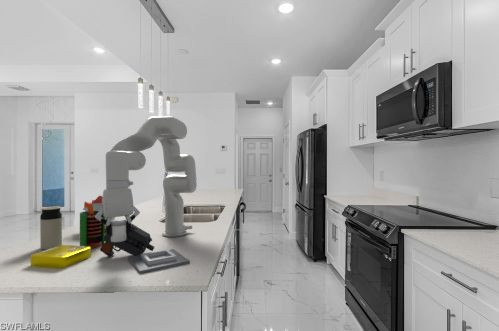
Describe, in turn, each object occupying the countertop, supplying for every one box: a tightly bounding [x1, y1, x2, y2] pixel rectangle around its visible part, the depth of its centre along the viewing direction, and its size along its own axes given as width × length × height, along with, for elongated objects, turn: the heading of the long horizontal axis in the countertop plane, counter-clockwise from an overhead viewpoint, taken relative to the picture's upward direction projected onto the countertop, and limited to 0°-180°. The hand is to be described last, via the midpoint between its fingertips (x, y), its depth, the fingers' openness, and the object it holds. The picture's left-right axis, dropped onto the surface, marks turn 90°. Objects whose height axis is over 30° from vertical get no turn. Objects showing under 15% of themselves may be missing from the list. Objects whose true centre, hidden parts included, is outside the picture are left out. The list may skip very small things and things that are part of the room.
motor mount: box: [128, 249, 191, 274], centre depth 110 cm, size 18×18×2 cm
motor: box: [79, 201, 106, 250], centre depth 130 cm, size 10×9×20 cm
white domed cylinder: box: [110, 218, 127, 242], centre depth 104 cm, size 5×5×7 cm
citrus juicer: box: [82, 195, 116, 233], centre depth 161 cm, size 16×17×20 cm
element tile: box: [30, 244, 92, 270], centre depth 111 cm, size 15×15×5 cm
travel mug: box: [39, 205, 63, 251], centre depth 129 cm, size 8×8×18 cm
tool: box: [99, 223, 155, 258], centre depth 117 cm, size 6×19×15 cm, turn 95°
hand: (118, 234), depth 104 cm, fingers closed on white domed cylinder, 5 cm apart
